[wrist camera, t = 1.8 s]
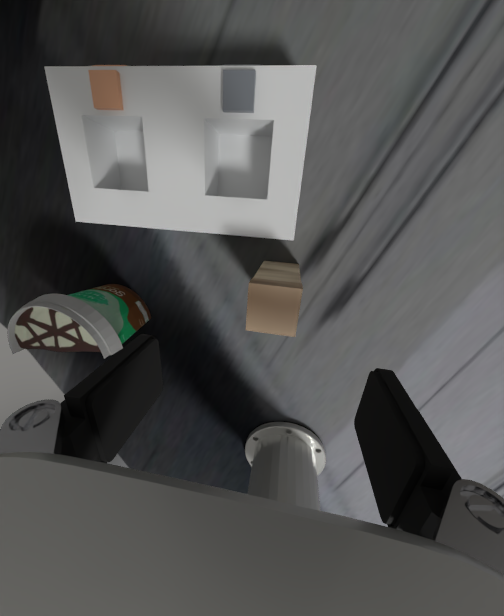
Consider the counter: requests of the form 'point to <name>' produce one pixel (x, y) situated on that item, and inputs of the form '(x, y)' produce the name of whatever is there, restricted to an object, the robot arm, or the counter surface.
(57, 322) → the food container
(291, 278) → the plug
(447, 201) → the counter surface
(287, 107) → the socket block
